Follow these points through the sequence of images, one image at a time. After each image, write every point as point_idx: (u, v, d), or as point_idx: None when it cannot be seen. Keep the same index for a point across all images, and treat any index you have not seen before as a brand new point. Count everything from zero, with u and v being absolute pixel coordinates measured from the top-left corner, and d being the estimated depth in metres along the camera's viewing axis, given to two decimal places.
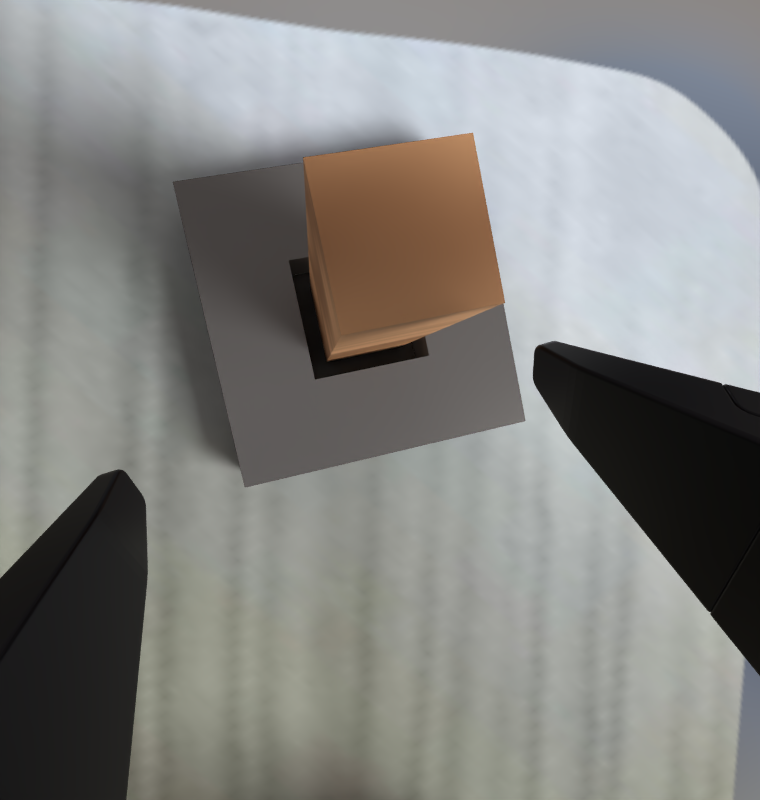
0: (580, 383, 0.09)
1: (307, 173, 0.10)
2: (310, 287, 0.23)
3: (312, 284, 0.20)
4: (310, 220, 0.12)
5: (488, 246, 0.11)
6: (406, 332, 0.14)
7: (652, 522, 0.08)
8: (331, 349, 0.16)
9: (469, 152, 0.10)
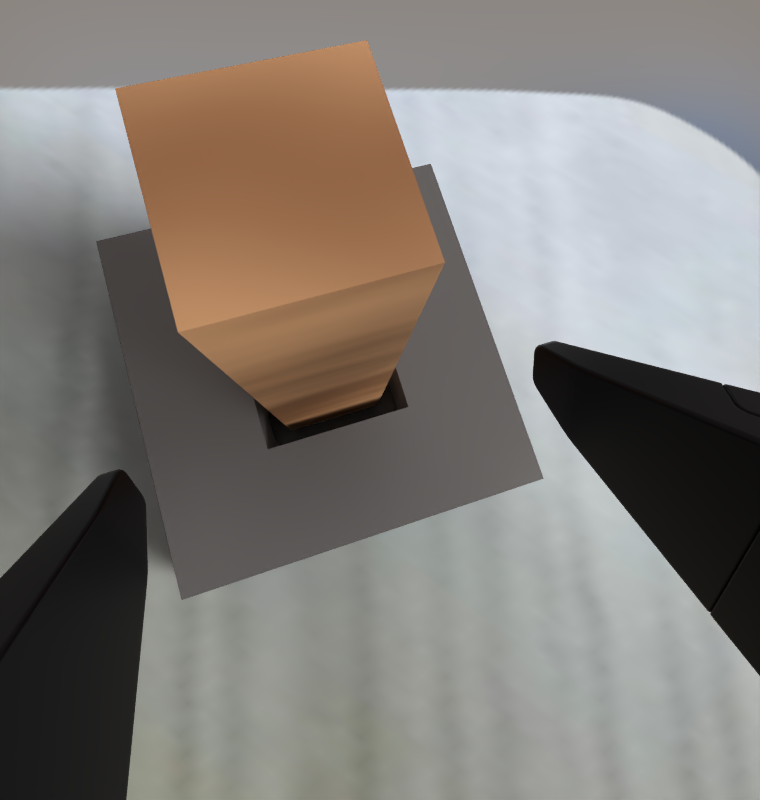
0: (580, 383, 0.09)
1: (121, 108, 0.07)
2: None
3: None
4: None
5: (407, 184, 0.07)
6: (337, 354, 0.10)
7: (652, 522, 0.08)
8: None
9: (364, 63, 0.07)
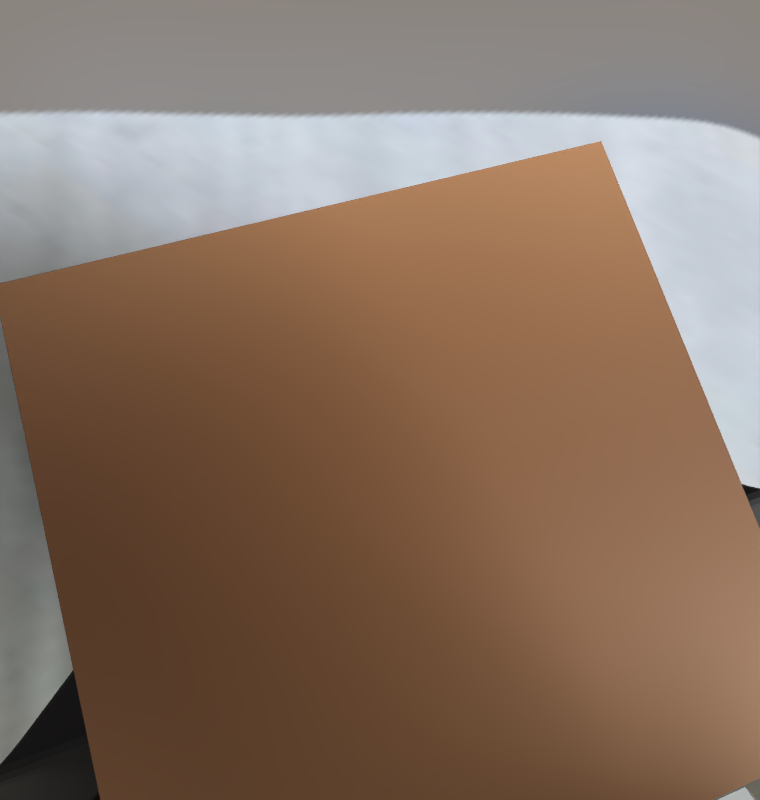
0: None
1: (8, 340, 0.03)
2: None
3: None
4: None
5: (731, 517, 0.03)
6: None
7: None
8: None
9: (601, 201, 0.03)
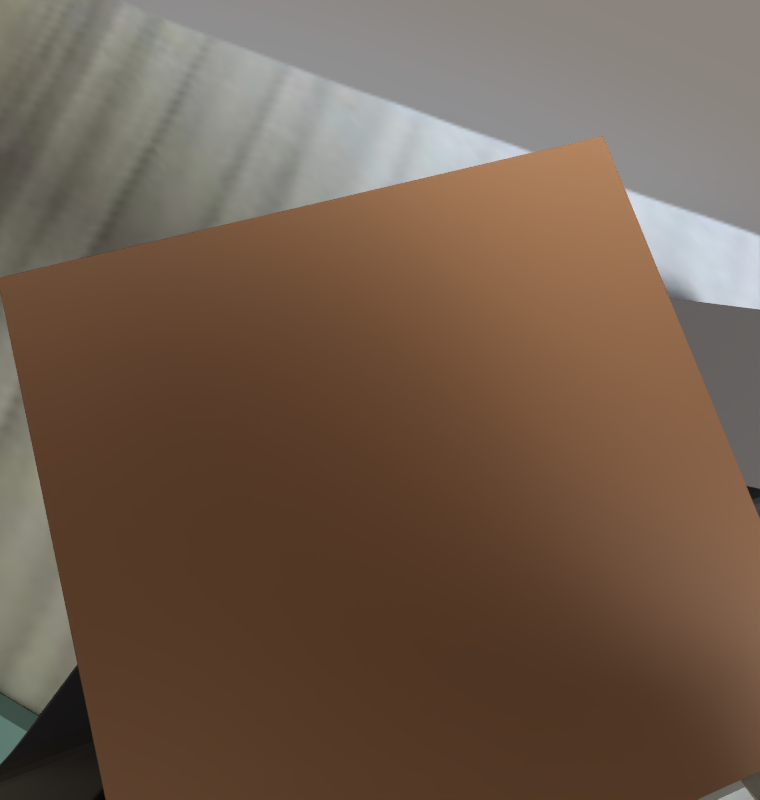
0: None
1: (12, 333, 0.03)
2: None
3: None
4: None
5: (732, 511, 0.03)
6: None
7: None
8: None
9: (603, 196, 0.03)
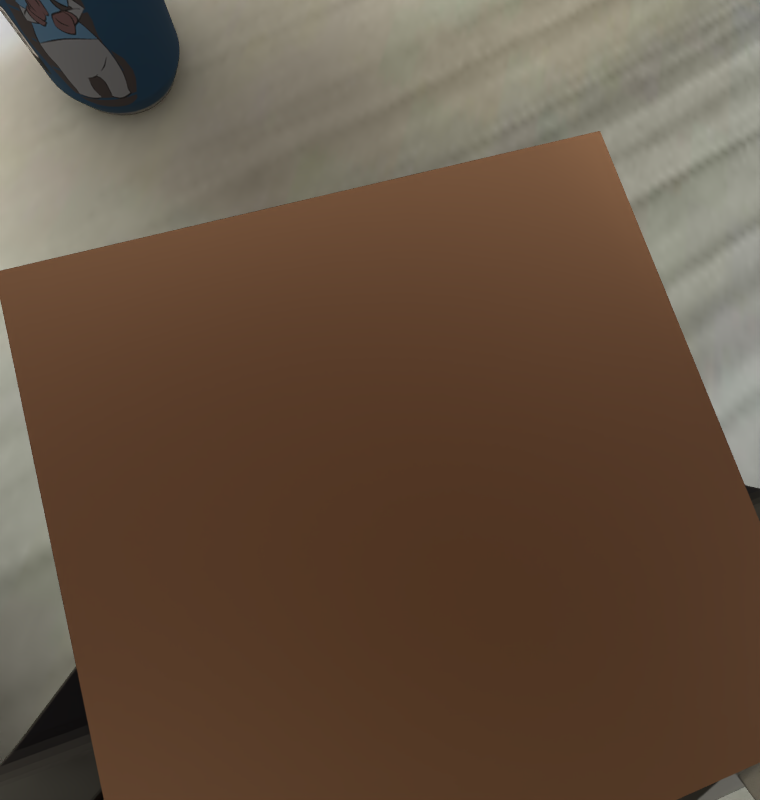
0: None
1: (9, 327, 0.03)
2: None
3: None
4: None
5: (729, 504, 0.03)
6: None
7: None
8: None
9: (600, 191, 0.03)
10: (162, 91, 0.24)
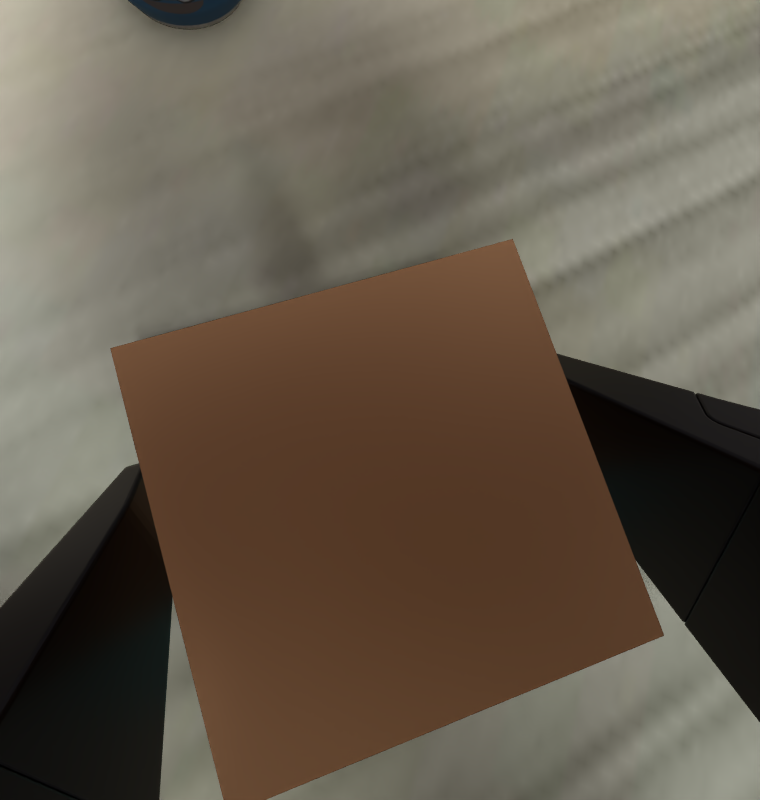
0: None
1: (121, 384, 0.04)
2: None
3: None
4: None
5: (594, 494, 0.04)
6: None
7: (628, 531, 0.08)
8: None
9: (511, 281, 0.04)
10: (231, 3, 0.21)
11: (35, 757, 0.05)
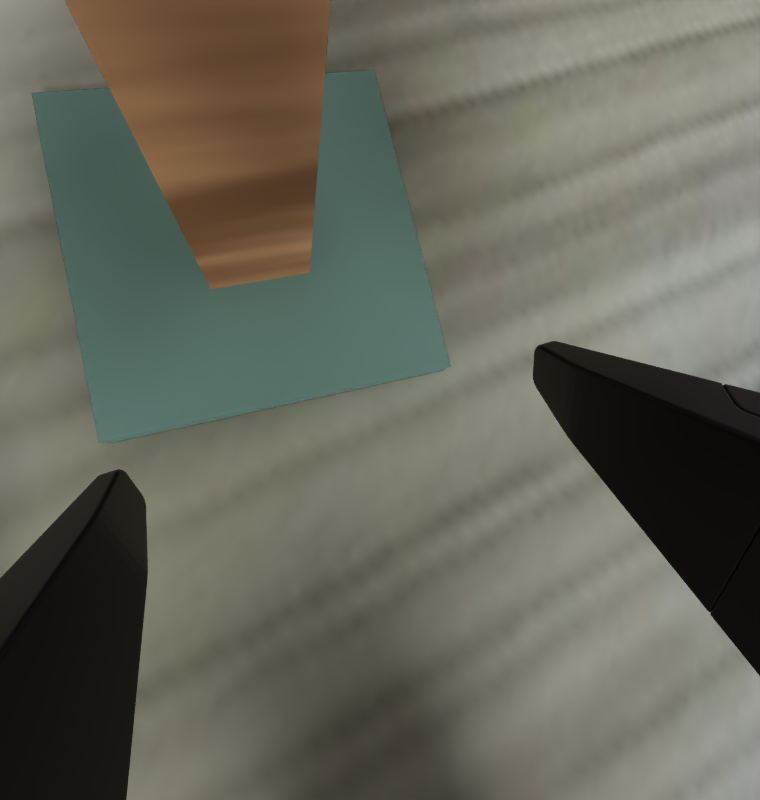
0: (580, 383, 0.09)
1: None
2: None
3: None
4: None
5: None
6: (233, 57, 0.08)
7: (652, 522, 0.08)
8: (142, 151, 0.10)
9: None
10: None
11: None
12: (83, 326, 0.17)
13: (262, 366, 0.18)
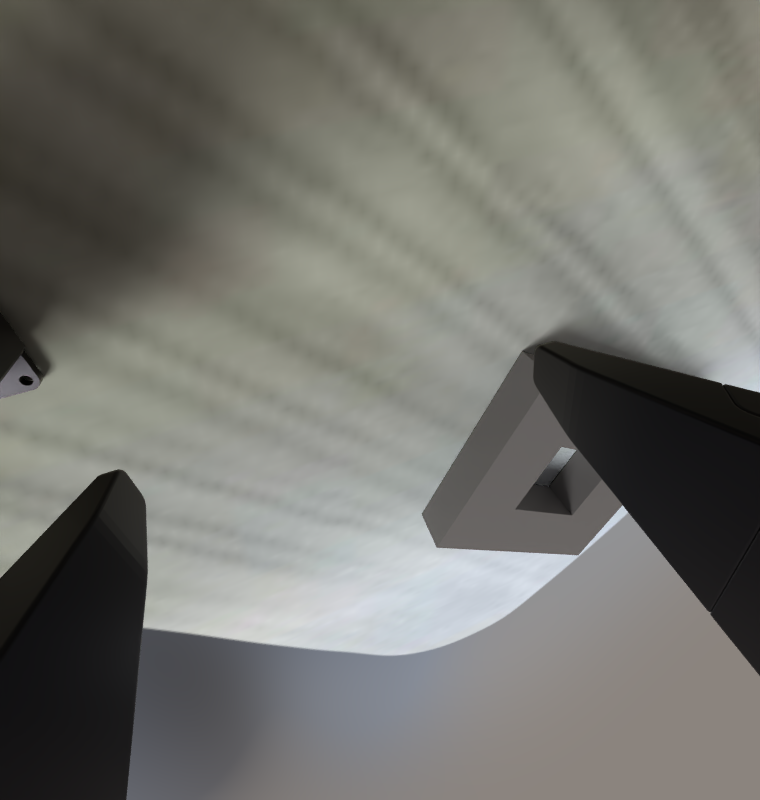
0: (580, 383, 0.09)
1: None
2: None
3: None
4: None
5: None
6: None
7: (652, 522, 0.08)
8: None
9: None
10: None
11: None
12: None
13: None
